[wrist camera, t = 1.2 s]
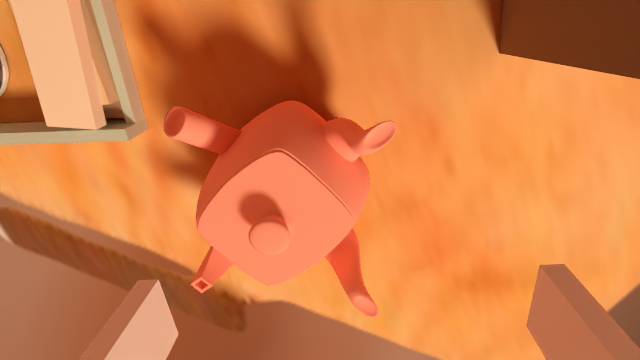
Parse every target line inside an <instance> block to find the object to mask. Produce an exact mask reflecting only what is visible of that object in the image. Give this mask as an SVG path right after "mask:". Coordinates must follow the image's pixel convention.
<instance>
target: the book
mask: <svg viewBox="0 0 640 360" xmlns="http://www.w3.org/2000/svg"><path fill="white" fill-rule="evenodd" d="M499 53H501V54H507V55H512V56H518V57H523V58H528V59H534V60H539V61H545V62H550V63H555V64H561V65H566V66H572V67H577V68H583V69H588V70H593V71H599V72H604V73H610V74H615V75H620V76H626V77H631V78H637V79H640V0H503V4H502V20H501V35H500V51H499Z"/></svg>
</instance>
